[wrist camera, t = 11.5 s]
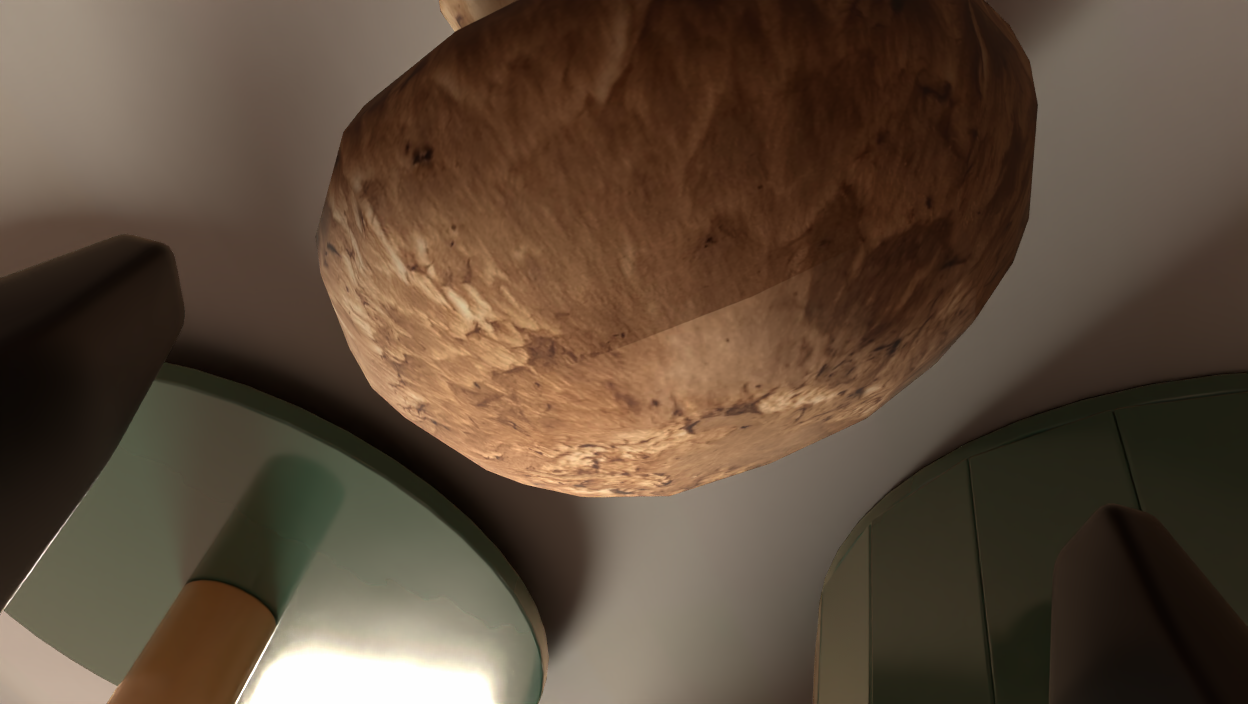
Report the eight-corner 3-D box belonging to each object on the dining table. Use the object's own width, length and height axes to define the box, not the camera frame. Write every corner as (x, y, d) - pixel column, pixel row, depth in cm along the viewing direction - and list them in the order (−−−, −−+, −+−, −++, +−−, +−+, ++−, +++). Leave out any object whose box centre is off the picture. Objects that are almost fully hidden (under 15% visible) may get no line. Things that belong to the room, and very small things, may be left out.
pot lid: (587, 764, 26) (541, 966, 23) (117, 687, 30) (9, 854, 26) (496, 357, 16) (386, 601, 13) (-206, 306, 19) (-461, 489, 16)
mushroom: (80, -145, 8) (148, 487, 6) (906, -473, 8) (1337, 49, 6) (411, 254, 16) (503, 610, 13) (851, 89, 15) (1029, 421, 13)
